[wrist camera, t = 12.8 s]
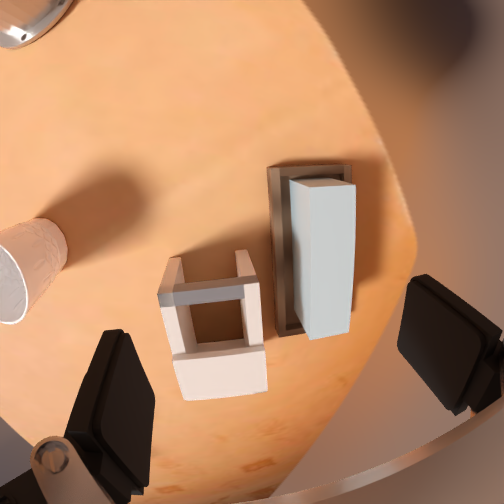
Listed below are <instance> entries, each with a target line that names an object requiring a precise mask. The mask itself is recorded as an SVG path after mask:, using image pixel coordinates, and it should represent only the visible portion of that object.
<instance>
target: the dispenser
mask: <svg viewBox="0 0 504 504" xmlns="http://www.w3.org/2000/svg"><path fill="white" fill-rule="evenodd" d="M235 257H236V267H237V277H234V278H226V279H217V280H208V281H200V282H191V283H185V279H184V273H183V267H182V261H181V257H175V258H169V260H168V263H167V266H166V269H165V272H164V275H163V278H162V281H161V284H160V287H159V290H158V293H157V295H158V300H159V304H160V308H161V312H162V317H163V321H164V325H165V329H166V332H167V336H168V340H169V344H170V347H171V351H172V355H173V356H172V363H173V366H174V370H175V373H176V376H177V380H178V383H179V386H180V389H181V392H182V395H183V398H184V400H186V401H191V400H204V399H214V398H224V397H233V396H241V395H248V394H255V393H262V392H267V391H268V388H267V372H266V356H265V348H264V344H263V330H262V315H261V301H260V287H259V281H258V278H257V275H256V273H255V270H254V267H253V265H252V262H251V259H250V257H249V254H248V251H247V249H244V250H236V251H235ZM236 299H240V306H241V315H242V324H243V334H244V338H243V339H235V340H227V341H218V342H209V343H200V344H197V341H196V336H195V331H194V327H193V322H192V317H191V312H190V306H189V305H192V304H201V303H210V302H219V301H227V300H236Z"/></svg>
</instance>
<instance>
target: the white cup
mask: <svg viewBox="0 0 504 504" xmlns="http://www.w3.org/2000/svg"><path fill="white" fill-rule="evenodd" d="M67 252H68V247H67V244H66V240H65V237H64V234H63V233H62V232H61V230H60V229H59V228H58V226H57V225H56V224H55V223H53V222H51V221H50V220H48V219H46V218H34V219H32V220H29V221H27V222H24V223H20V224H17V225H15V226H12V227H9V228H7V229H4V230H2V231H0V322H1V323H4V324H16V323H18V322H20V321H21V320H22V319H23V318H24V317H25V316H26V314H27V313H28V312H29V310H30V309H31V308H32V307H33V305H34V304H35V303H36V302H37V301H38V299H39V298H40V297H41V296H42V295H43V293H44V292H45V291H46V289H47V288H48V287H49V286H50V284H51V283H52V282H53V281H54V279H55V278H56V276H57V275H58V274H59V273H60V272H61V270H62V269H63V267H64V265H65V263H66V262H67Z"/></svg>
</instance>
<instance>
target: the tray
mask: <svg viewBox="0 0 504 504" xmlns="http://www.w3.org/2000/svg"><path fill="white" fill-rule="evenodd" d="M325 177H329V178H333V179H336V180H340V181H344V182H347V183H351V184H352V173H351V165H347V164H321V165H297V166H279V167H267V179H268V194H269V210H270V227H271V245H272V263H273V283H274V304H275V327H276V331H277V333H278V336H279V337H285V336H292V335H297V334H303V333H306V332H305V330H304V328H303V326H302V324H301V322H300V320H299V318H298V316H297V314H296V312H295V310H294V287H293V250H292V223H291V201H290V182H289V180H291V179H307V178H325Z"/></svg>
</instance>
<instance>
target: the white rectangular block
mask: <svg viewBox="0 0 504 504" xmlns="http://www.w3.org/2000/svg"><path fill="white" fill-rule="evenodd" d="M289 182H290V201H291V223H292V250H293V287H294V310H295V312H296V314H297V316H298V318H299V320H300V322H301V324H302V326H303V328H304V330H305V332H306V334H307V335H308V337H309V339H310V340H313V339H318V338H323V337H328V336H333V335H338V334H343V333H347V332H349V324H350V314H351V303H352V291H353V276H354V257H355V229H356V185H354V184H351V183H347V182H344V181H340V180H336V179H333V178H329V177H325V178H307V179H291V180H289Z"/></svg>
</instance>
